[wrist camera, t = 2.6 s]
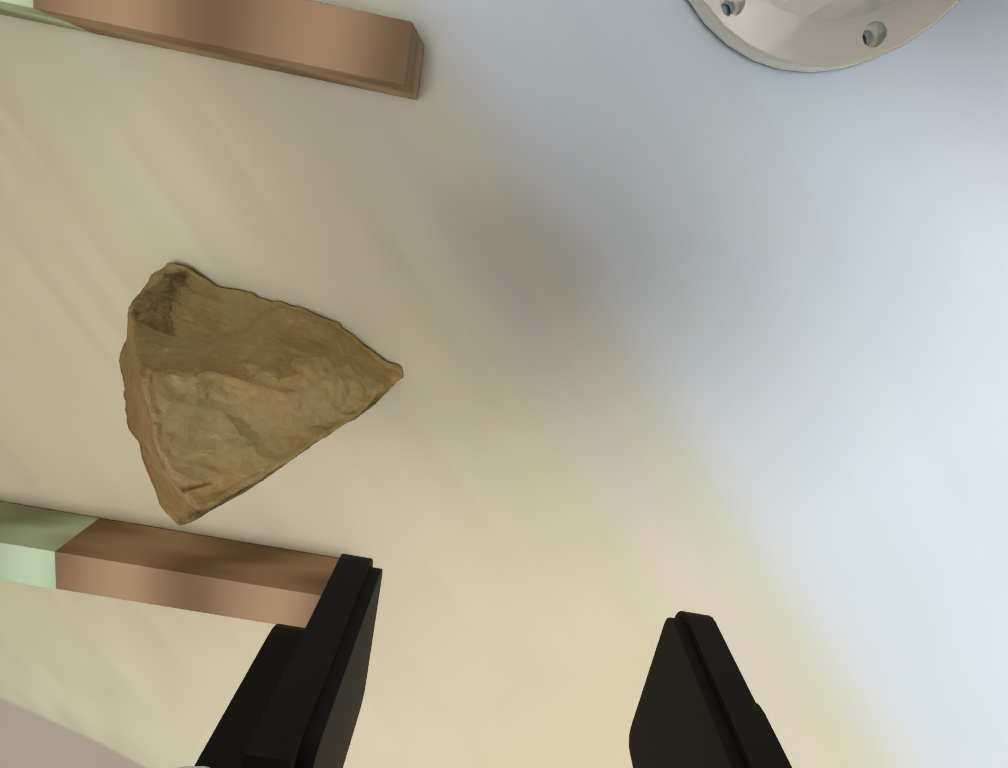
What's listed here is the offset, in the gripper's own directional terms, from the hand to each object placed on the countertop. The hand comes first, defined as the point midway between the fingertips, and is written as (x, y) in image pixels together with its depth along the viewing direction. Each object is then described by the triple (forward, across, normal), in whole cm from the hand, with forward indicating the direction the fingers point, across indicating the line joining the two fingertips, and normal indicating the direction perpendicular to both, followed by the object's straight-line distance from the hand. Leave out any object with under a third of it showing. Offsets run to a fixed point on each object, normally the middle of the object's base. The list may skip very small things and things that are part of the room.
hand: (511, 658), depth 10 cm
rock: (+18, +11, 0) cm, 21 cm away
